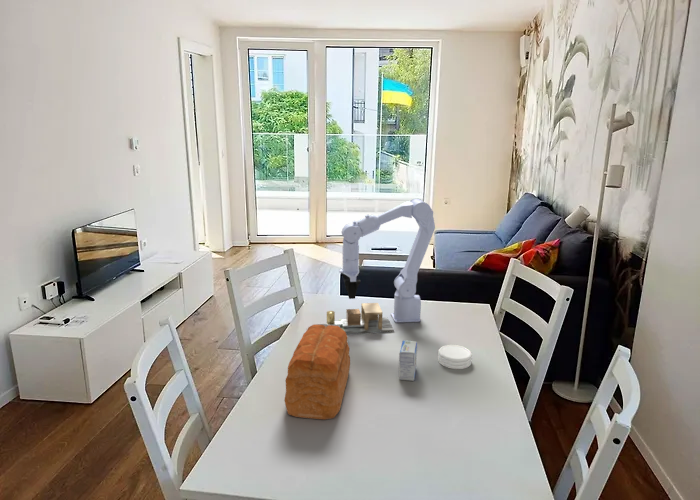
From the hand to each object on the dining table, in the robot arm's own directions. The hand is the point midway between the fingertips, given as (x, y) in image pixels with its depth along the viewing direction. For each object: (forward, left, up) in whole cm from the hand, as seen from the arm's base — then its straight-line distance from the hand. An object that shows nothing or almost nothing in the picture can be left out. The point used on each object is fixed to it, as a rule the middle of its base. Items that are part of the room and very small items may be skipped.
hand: (350, 294), depth 174 cm
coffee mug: (+12, +28, -10) cm, 32 cm away
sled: (+2, +6, -9) cm, 11 cm away
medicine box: (-12, +40, -10) cm, 43 cm away
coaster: (-28, +34, -10) cm, 45 cm away
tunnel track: (-5, +6, -10) cm, 13 cm away
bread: (+14, +47, -10) cm, 50 cm away
